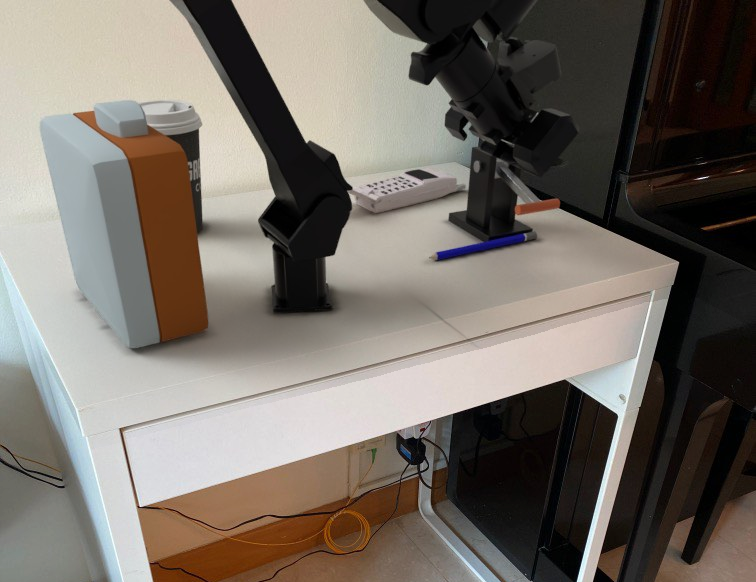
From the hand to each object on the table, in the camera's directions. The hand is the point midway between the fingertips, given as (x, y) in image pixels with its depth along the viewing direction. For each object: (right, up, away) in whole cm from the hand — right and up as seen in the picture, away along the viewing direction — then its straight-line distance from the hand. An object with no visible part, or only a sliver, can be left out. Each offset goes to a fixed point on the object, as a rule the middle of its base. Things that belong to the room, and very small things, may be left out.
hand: (541, 174), depth 94 cm
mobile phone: (-18, +4, +20) cm, 27 cm away
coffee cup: (-46, -3, +11) cm, 48 cm away
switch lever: (-3, 0, +6) cm, 6 cm away
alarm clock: (-46, -19, -9) cm, 50 cm away
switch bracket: (-5, -2, +13) cm, 14 cm away
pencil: (-6, -7, +7) cm, 12 cm away
